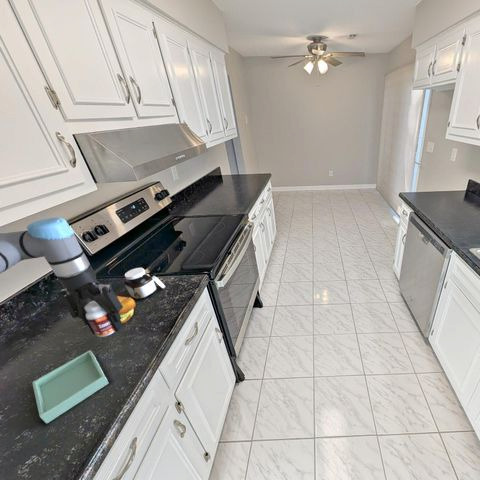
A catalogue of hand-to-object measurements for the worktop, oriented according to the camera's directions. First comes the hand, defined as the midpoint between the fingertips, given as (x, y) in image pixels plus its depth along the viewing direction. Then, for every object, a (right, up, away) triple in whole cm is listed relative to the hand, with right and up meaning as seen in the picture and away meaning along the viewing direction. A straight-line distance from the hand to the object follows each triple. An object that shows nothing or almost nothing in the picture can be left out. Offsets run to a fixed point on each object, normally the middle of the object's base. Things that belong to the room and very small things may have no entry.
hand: (108, 329), depth 83 cm
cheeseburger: (-6, -1, +14) cm, 15 cm away
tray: (-1, -12, -11) cm, 16 cm away
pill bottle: (0, 0, 0) cm, 1 cm away
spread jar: (-4, +6, +27) cm, 28 cm away
